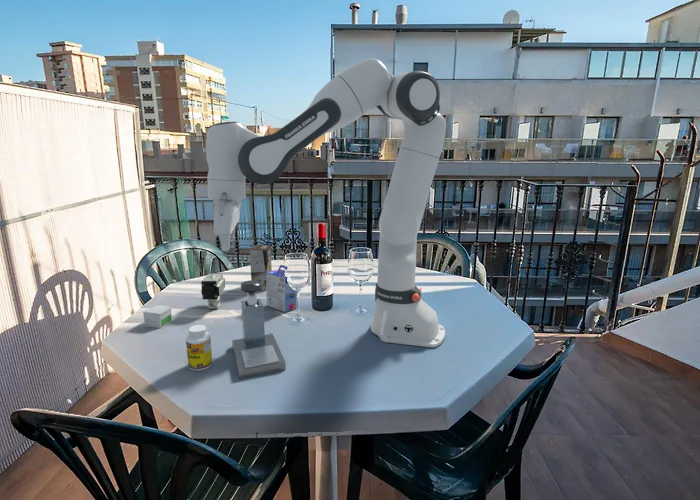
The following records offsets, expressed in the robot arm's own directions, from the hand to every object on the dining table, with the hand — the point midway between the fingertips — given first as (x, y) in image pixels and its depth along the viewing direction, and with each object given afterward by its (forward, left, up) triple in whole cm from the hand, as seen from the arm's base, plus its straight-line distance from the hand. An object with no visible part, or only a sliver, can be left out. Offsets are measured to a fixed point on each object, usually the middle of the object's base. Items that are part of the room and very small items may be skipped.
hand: (228, 245), depth 96 cm
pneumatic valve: (+23, -19, -29) cm, 42 cm away
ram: (-5, -2, -22) cm, 23 cm away
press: (-9, +2, -29) cm, 30 cm away
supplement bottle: (+1, +11, -29) cm, 31 cm away
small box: (+30, -2, -29) cm, 42 cm away
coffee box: (+21, -43, -29) cm, 56 cm away
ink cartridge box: (+3, -29, -29) cm, 41 cm away
